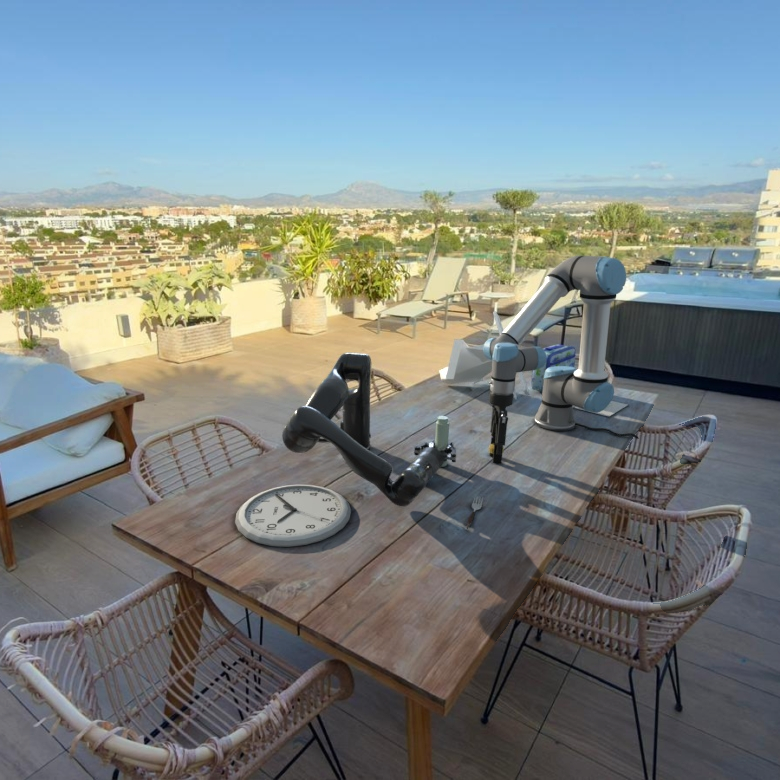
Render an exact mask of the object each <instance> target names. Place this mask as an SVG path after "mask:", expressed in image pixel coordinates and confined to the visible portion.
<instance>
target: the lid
mask: <svg viewBox="0 0 780 780" xmlns="http://www.w3.org/2000/svg"><path fill="white" fill-rule="evenodd" d="M504 450H505V446H503V451H502V455H503V454H504ZM493 452H494V445H493V444H491V443H490V444H489V446H488V453H489V454H490V453H492V454H493Z"/></svg>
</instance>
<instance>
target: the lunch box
mask: <svg viewBox="0 0 780 780" xmlns="http://www.w3.org/2000/svg"><path fill="white" fill-rule="evenodd" d="M542 349H543V350H544V351H545V353H546V363H545V365H544V366H543V367H542V368H540V369H536V370H534V371H532V370H531V382H530V383H531V386H530V387H531V389H532V390H533V391H537V392H542V391H543V380H544V379H543V378H544V375H545V370H546V369H547V368H549V367H555V366H569V367H575V364H576V357H577V355H576V347H575V346H569V345H565V344H554V345H550V346H547V347H544V348H542Z"/></svg>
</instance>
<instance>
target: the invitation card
mask: <svg viewBox="0 0 780 780" xmlns="http://www.w3.org/2000/svg"><path fill="white" fill-rule="evenodd" d="M628 406H629V404H627V403H623V402H618V401H614V400H611V402H610V404H609V405H608V406H607V407H606V408H605V409H604V410H602V411H601V412H597V413H594V412H591V411H586V410H584V409H581V408H579V407H576V406H573V409H575V410H581V411H584V412H587V413H593V414H596V415H600V416H604V417H608V418H609V417H611V416H613V415H614V414H616V413H617V412H619V411H621V410H623V409H624V408H626V407H628Z"/></svg>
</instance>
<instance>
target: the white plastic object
mask: <svg viewBox="0 0 780 780" xmlns="http://www.w3.org/2000/svg"><path fill="white" fill-rule="evenodd" d="M492 315H493V319H494V321H495V324H496V325H495V326H496V328H497V332H498V336H500V334H501V333H502V332H503V331H504V328H503V325H502V321H501V318H500V315H499V314H498V312H497V311H496V310H495V311H492ZM484 344H485V343H483V344H479V345H473V346H469V345H468V343H466V342H465V340H464V339H463V338H460V339H458V338H454V340H453V344H452V349H451V353H450V357H449V362H448V366H446V367H444V368H442V369H440V370H439V371H438V372H439V376H440V381H442V383H443V384H444V385H445V386H449V385H458V384H467V383H468V384H469V383H473V384H477V383H480V382H482V381H484V378H485V377H486V376H487V375H489V374H490V373H492V360H491V359H489V358H487V357H486V356H485V355H484V352H483V347H484ZM516 374H517V376H518V380H519V382H520V385H521V389H522V391H523V393H524V395H525V396H526V397H528V396H531V395H530V390H529V388H528V387H529V386H528V384H527V381H526V378H525V375H524V372H517V373H516ZM516 391H517V390H516V388H515V389H514V392H513V394H514V397H513V398H514V399H515V400H517V392H516Z"/></svg>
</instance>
